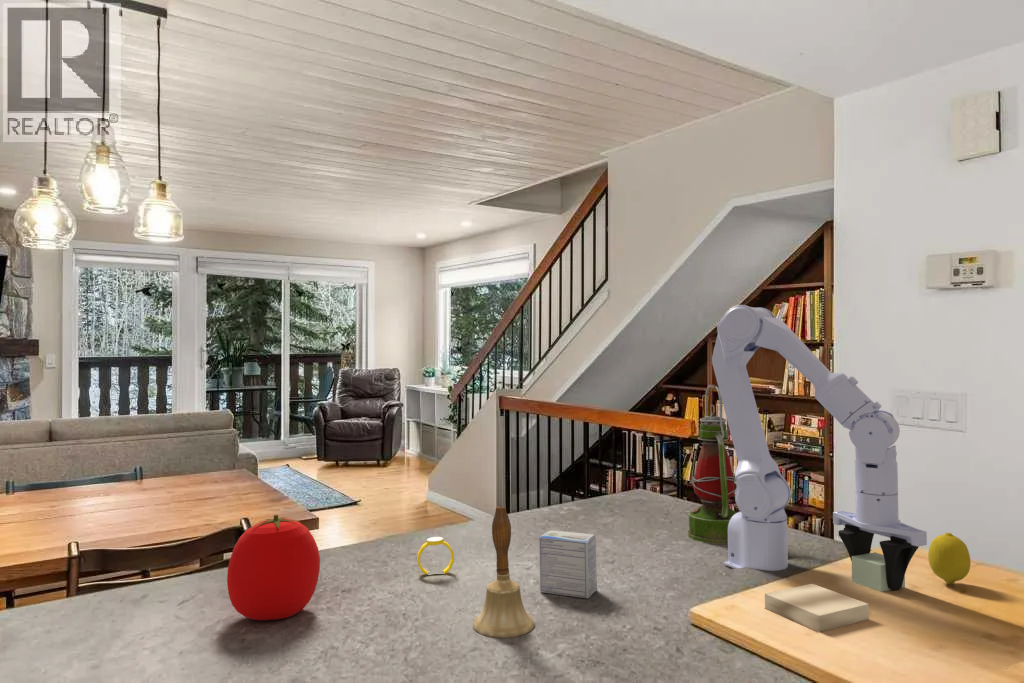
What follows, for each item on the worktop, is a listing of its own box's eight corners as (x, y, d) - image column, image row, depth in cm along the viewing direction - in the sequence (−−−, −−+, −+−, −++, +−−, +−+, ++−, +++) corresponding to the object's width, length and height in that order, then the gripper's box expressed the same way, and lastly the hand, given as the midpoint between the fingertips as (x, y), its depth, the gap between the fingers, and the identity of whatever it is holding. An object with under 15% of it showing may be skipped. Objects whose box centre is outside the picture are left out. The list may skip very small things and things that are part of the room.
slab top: (765, 608, 94) (764, 593, 94) (812, 597, 98) (812, 583, 98) (819, 631, 86) (819, 615, 86) (868, 619, 90) (868, 603, 90)
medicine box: (597, 590, 106) (596, 534, 106) (588, 600, 102) (587, 541, 102) (549, 584, 109) (549, 529, 110) (539, 593, 105) (538, 536, 106)
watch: (419, 579, 113) (416, 543, 113) (418, 574, 116) (415, 539, 116) (455, 574, 114) (452, 538, 114) (453, 569, 117) (450, 534, 117)
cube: (852, 589, 105) (851, 556, 105) (875, 584, 107) (875, 552, 107) (881, 599, 101) (880, 565, 101) (905, 594, 102) (904, 561, 103)
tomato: (231, 638, 90) (230, 528, 90) (223, 609, 100) (223, 511, 100) (329, 619, 96) (328, 517, 96) (312, 595, 106) (311, 502, 106)
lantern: (678, 528, 143) (675, 383, 144) (728, 527, 144) (725, 383, 144) (699, 547, 129) (697, 386, 130) (755, 545, 130) (752, 385, 130)
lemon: (977, 591, 104) (976, 537, 104) (937, 589, 105) (935, 536, 105) (961, 579, 109) (960, 528, 109) (923, 577, 110) (922, 527, 110)
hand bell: (513, 643, 87) (512, 516, 88) (460, 629, 92) (459, 509, 92) (545, 621, 94) (544, 503, 95) (495, 609, 99) (493, 497, 99)
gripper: (940, 498, 99) (942, 593, 99) (854, 481, 112) (856, 565, 112) (906, 502, 96) (908, 601, 96) (822, 485, 110) (824, 571, 109)
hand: (878, 582), depth 104 cm, fingers closed on cube, 5 cm apart
